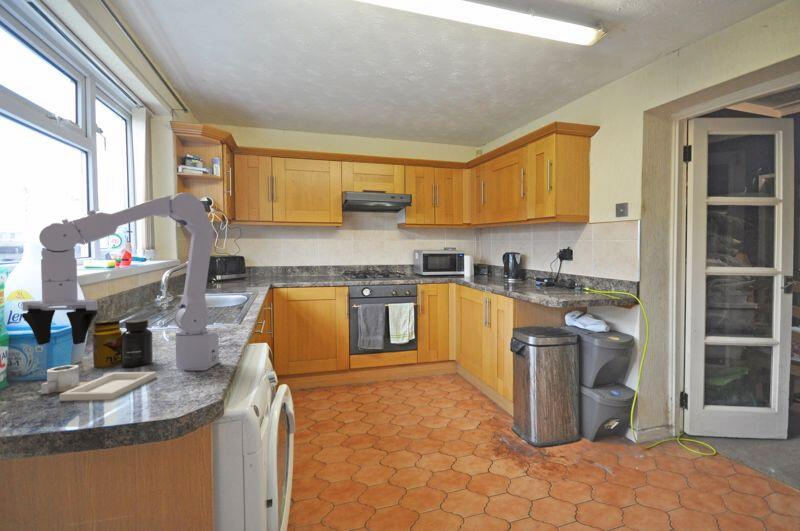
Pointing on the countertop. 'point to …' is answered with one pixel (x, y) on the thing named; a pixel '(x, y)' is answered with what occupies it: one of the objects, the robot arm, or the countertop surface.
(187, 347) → the robot arm
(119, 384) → the tray
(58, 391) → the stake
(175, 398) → the countertop surface
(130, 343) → the supplement bottle
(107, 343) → the condiment
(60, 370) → the ring
